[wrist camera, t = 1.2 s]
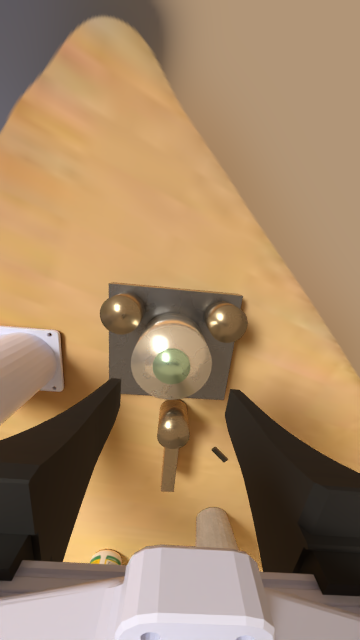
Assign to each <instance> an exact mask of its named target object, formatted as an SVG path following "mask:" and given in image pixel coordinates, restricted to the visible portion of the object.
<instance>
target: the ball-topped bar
mask: <svg viewBox="0 0 360 640" xmlns="http://www.w3.org/2000/svg"><path fill="white" fill-rule="evenodd" d="M157 439H158V441H159V443H160V444H161V445H162V446H163V447H164V455H163V466H162V482H161V491H165V492H174V484H175V476H176V468H177V459H178V451H179V448H181V447H183V446H184V445H185V444H186V443H187V442H188V440H189V425H188V414H187V407H186V405H185V403H184V402H182V401H181V400H178V399H176V400H167V401H165V402H164V403H163V404H162V405H161V407H160V414H159V424H158V434H157Z"/></svg>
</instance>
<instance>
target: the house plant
mask: <svg viewBox="0 0 360 640" xmlns="http://www.w3.org/2000/svg"><path fill="white" fill-rule="evenodd" d="M196 547H212V548H230V549H235V550H239V549H238V546H237V543H236V540H235V537H234V534H233V531H232V528H231V525H230V523H229V520H228V517H227V514H226V512H225V511H223V510H222V509H220V508H215V507H214V508H207V509H204V510H202V511H201V512H200V513H199V514H198V515H197V518H196Z"/></svg>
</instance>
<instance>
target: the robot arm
mask: <svg viewBox="0 0 360 640" xmlns="http://www.w3.org/2000/svg"><path fill="white" fill-rule="evenodd" d="M49 333H51V334H52V336H51V335H50V334H49ZM54 386H55V387H56V388H55V387H54ZM63 389H64V378H63V365H62V352H61V338H60V333H59V331H57V330H48V329H36V328H23V327H10V326H0V425H1V424H2V423H4V422H5V421H6V420H7V419H8V418H9V417H10V416H11V415H12V414H14V413H15V412H16V411H17V410H18V409H19V408H20V407H21V406H23V405H24V404H25V403H26V402H27V401H28V400H29V399H30V398H31V397H33V396H34V395H35V394H36V393H37V392H38V391H39V390H40V391H56V392H60V391H62V390H63ZM120 397H121V379H117V378H111V379H110V380H108V381H107V382H106V383H105V384H103V385H102V386H101V387H99V388H98V389H97V390H96V391H94V392H93V393H92V394H90V395H89V396H88V397H86V398H85V399H83V400H82V401H80V402H79V403H77V404H76V405H74V406H73V407H71V408H69V409H68V410H66V411H64V412H63V413H61V414H59V415H57V416H55V417H53V418H51V419H49V420H47V421H45V422H43V423H41V424H39V425H37V426H35V427H33V428H30V429H28V430H26V431H24V432H21V433H19V434H16V435H14V436H11V437H8V438H6V439H3V440H0V640H360V473H358V472H356V471H354V470H352V469H350V468H347V467H345V466H343V465H341V464H340V463H338V462H336V461H334V460H332V459H330V458H329V457H327V456H325V455H323V454H322V453H320V452H318V451H316V450H315V449H313V448H312V447H310V446H308V445H307V444H305V443H304V442H302V441H301V440H299V439H298V438H296V437H295V436H293V435H292V434H291V433H289V432H288V431H286V430H285V429H284V428H282V427H281V426H280V425H278V424H277V423H276V422H275V421H274V420H272V419H271V418H270V417H269V416H268V415H266V414H265V413H264V412H263V411H262V410H261V409H260V408H259V407H257V406H256V405H255V404H254V403H253V402H252V401H251V400H250V399H249V398H248V397H247V396H246V395H245V394H244V393H242V392H241V391H240V390H234V389H230V393H229V398H228V403H227V407H226V412H225V418H226V423H227V428H228V432H229V435H230V438H231V441H232V444H233V447H234V450H235V453H236V456H237V459H238V462H239V465H240V468H241V471H242V474H243V478H244V482H245V486H246V490H247V494H248V499H249V503H250V508H251V512H252V516H253V521H254V526H255V531H256V536H257V541H258V546H259V551H260V556H261V562H262V567H263V572H259V568H258V565H257V562H256V561H254V560H253V559H252V558H251V557H250V556H249V555H248V554H247V553H246V552H244V551H239V550H235V549H230V548H212V547H193V546H175V545H155V546H146V547H145V548H143V549H141V550H139V551H137V552H136V553H134V554H133V555H132V556H131V558H130V560H129V562H128V564H127V565H111V564H90V563H70V562H63V559H64V556H65V552H66V549H67V546H68V543H69V540H70V537H71V534H72V531H73V528H74V525H75V522H76V519H77V516H78V513H79V509H80V507H81V504H82V501H83V498H84V495H85V492H86V489H87V486H88V484H89V481H90V478H91V475H92V473H93V470H94V467H95V464H96V462H97V460H98V457H99V455H100V453H101V451H102V449H103V446H104V444H105V442H106V440H107V438H108V436H109V433H110V431H111V429H112V427H113V425H114V422H115V420H116V417H117V414H118V411H119V408H120Z"/></svg>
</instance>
